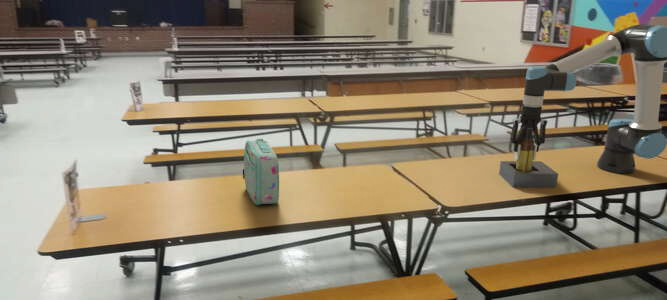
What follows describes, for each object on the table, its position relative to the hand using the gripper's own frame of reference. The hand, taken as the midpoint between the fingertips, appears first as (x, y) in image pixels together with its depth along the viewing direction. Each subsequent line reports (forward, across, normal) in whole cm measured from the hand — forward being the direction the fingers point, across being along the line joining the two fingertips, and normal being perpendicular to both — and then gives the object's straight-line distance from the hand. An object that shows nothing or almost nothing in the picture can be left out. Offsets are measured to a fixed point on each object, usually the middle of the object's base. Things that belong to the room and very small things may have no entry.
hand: (524, 159), depth 197 cm
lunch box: (+10, +109, +17) cm, 111 cm away
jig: (+10, -2, 0) cm, 10 cm away
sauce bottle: (+6, 0, 0) cm, 6 cm away
